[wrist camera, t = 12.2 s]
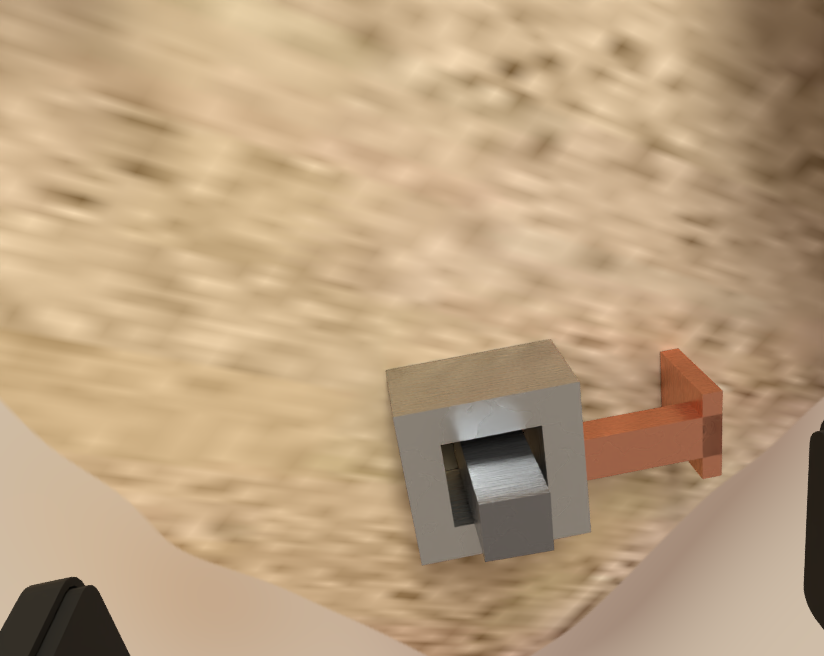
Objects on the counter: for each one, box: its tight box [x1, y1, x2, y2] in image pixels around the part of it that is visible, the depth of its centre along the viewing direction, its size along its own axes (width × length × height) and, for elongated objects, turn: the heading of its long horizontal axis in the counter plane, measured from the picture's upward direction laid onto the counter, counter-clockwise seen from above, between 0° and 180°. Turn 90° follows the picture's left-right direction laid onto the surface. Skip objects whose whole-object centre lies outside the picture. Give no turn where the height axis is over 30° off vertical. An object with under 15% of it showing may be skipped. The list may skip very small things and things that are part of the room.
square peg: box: [454, 429, 554, 562], centre depth 37 cm, size 3×3×9 cm
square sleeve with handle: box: [386, 339, 723, 565], centre depth 39 cm, size 16×9×5 cm, turn 99°
